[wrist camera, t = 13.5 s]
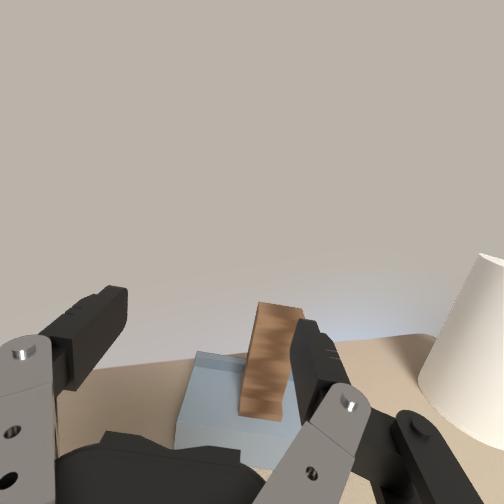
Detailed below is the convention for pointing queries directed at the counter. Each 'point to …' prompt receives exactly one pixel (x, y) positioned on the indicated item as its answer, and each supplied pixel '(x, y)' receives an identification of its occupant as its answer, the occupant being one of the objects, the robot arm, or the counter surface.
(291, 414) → the display riser
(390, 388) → the counter surface
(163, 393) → the counter surface
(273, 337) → the brown wooden block
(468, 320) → the cylinder
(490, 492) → the counter surface
